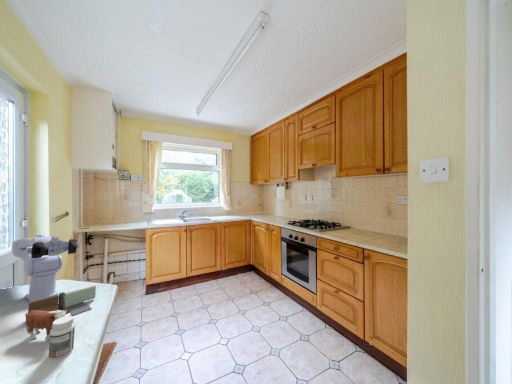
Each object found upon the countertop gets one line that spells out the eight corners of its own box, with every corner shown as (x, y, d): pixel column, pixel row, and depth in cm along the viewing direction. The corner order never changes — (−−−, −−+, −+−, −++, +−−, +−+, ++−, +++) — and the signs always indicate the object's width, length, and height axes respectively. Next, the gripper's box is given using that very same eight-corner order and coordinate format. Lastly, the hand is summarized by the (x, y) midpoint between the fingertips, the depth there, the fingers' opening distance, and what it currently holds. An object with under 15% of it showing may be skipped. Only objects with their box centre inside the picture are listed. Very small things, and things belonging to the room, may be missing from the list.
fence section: (27, 319, 66) (28, 301, 66) (62, 307, 73) (63, 291, 74) (28, 320, 65) (29, 302, 66) (64, 309, 73) (65, 292, 73)
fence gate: (64, 307, 73) (65, 293, 73) (63, 306, 73) (64, 292, 74) (95, 298, 80) (95, 285, 80) (93, 297, 81) (94, 284, 81)
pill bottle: (59, 346, 55) (61, 314, 55) (78, 345, 55) (80, 314, 55) (42, 360, 50) (44, 325, 50) (63, 359, 50) (65, 324, 51)
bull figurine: (56, 346, 55) (58, 315, 55) (19, 339, 57) (21, 309, 58) (73, 336, 59) (75, 307, 59) (38, 329, 62) (40, 302, 62)
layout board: (25, 314, 69) (25, 313, 69) (78, 298, 81) (78, 297, 81) (35, 329, 62) (35, 327, 62) (91, 309, 73) (91, 308, 73)
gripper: (24, 237, 75) (33, 241, 67) (74, 234, 87) (87, 237, 80) (21, 257, 74) (31, 263, 67) (73, 251, 86) (85, 255, 79)
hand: (61, 250), depth 73 cm, fingers open, 7 cm apart
